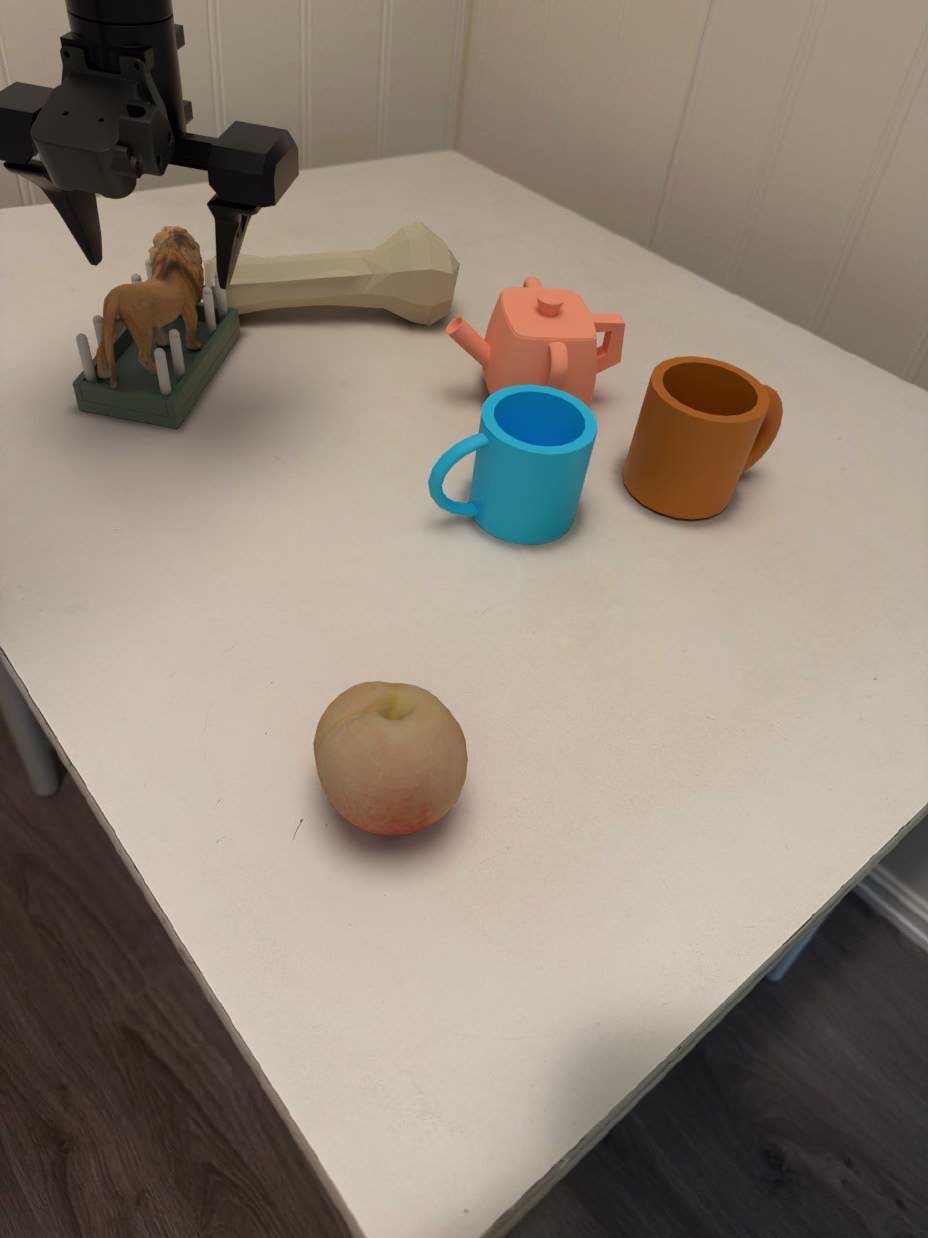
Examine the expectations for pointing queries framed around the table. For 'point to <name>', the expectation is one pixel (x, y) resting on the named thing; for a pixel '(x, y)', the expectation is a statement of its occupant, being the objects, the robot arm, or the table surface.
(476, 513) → the mug
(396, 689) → the fruit
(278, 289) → the faceted club
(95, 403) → the drying rack
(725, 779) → the table surface
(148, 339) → the lion figurine
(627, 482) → the mug
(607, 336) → the teapot
